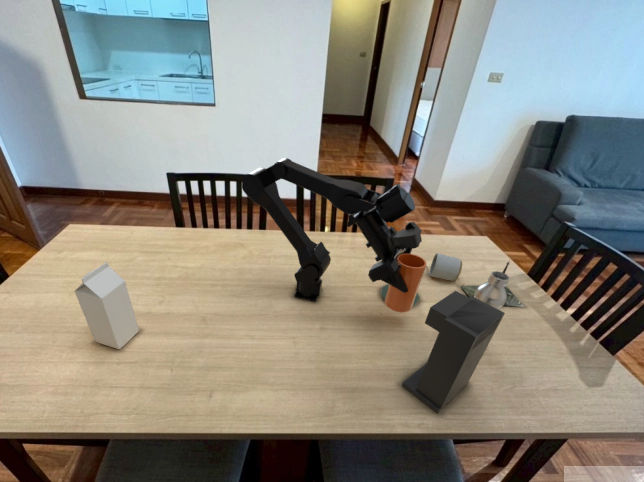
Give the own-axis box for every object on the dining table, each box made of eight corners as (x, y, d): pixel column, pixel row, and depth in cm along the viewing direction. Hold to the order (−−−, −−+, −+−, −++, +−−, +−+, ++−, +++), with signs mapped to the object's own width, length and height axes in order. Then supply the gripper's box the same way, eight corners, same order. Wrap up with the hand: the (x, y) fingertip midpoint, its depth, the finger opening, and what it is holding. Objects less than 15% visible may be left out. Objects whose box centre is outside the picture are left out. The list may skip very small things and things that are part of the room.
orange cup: (389, 312, 88) (402, 268, 80) (381, 295, 94) (393, 253, 86) (415, 312, 89) (431, 268, 81) (406, 296, 94) (420, 253, 87)
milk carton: (139, 331, 87) (120, 265, 76) (119, 350, 82) (95, 282, 70) (115, 323, 89) (93, 258, 77) (94, 342, 83) (67, 274, 72)
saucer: (378, 303, 101) (379, 300, 101) (382, 282, 110) (382, 280, 109) (418, 311, 99) (419, 309, 98) (418, 289, 107) (419, 287, 107)
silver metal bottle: (470, 354, 86) (504, 287, 74) (449, 336, 91) (477, 271, 79) (488, 346, 89) (523, 280, 77) (466, 329, 93) (496, 265, 81)
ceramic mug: (456, 286, 110) (464, 264, 105) (429, 280, 111) (436, 259, 107) (453, 269, 118) (461, 249, 114) (428, 264, 120) (435, 244, 115)
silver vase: (505, 286, 111) (524, 249, 103) (524, 307, 103) (546, 268, 95) (460, 286, 110) (475, 249, 102) (475, 307, 102) (493, 267, 94)
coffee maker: (399, 384, 78) (425, 310, 65) (430, 359, 84) (459, 287, 71) (437, 413, 72) (474, 338, 59) (467, 385, 78) (506, 311, 66)
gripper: (393, 231, 72) (432, 292, 75) (415, 202, 85) (448, 255, 88) (351, 253, 80) (388, 308, 82) (378, 224, 93) (408, 272, 95)
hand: (410, 284), depth 87 cm, fingers closed on orange cup, 7 cm apart
